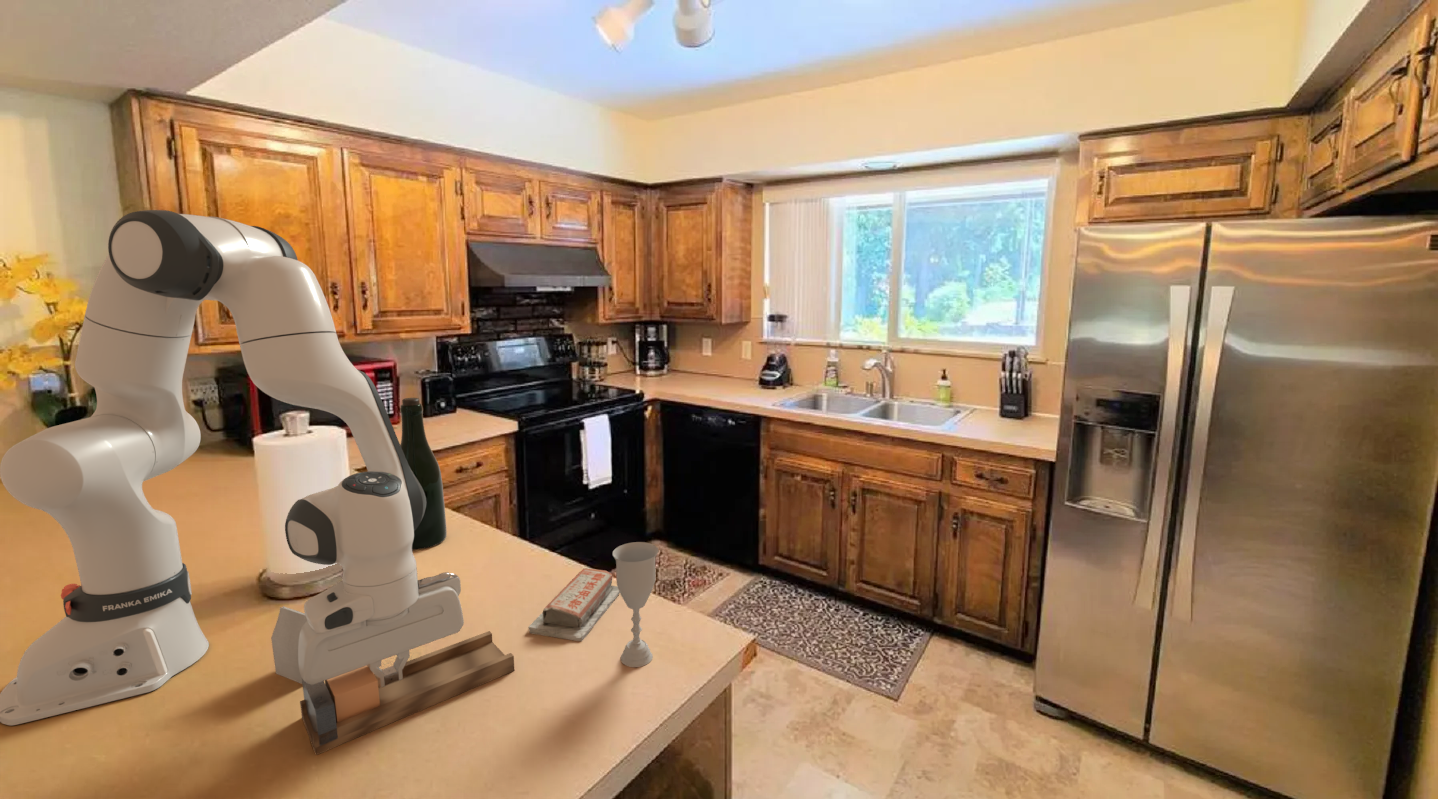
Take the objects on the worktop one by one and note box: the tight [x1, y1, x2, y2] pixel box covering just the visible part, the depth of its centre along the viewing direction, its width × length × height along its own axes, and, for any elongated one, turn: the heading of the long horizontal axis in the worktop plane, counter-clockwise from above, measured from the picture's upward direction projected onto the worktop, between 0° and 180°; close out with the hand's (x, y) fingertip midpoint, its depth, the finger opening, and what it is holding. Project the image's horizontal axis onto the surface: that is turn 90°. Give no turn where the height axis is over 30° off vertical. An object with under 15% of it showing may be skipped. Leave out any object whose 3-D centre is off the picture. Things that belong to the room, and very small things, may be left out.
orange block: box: [324, 665, 380, 723], centre depth 84 cm, size 5×6×5 cm
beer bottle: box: [399, 397, 448, 551], centre depth 137 cm, size 10×10×33 cm
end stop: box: [301, 679, 338, 746], centre depth 81 cm, size 2×9×5 cm, turn 43°
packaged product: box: [528, 567, 620, 642], centre depth 112 cm, size 18×5×10 cm
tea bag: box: [271, 605, 307, 685], centre depth 93 cm, size 4×7×10 cm, turn 67°
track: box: [299, 630, 515, 755], centre depth 89 cm, size 26×9×2 cm, turn 133°
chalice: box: [612, 541, 659, 668], centre depth 97 cm, size 7×7×18 cm
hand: (390, 682), depth 87 cm, fingers closed
